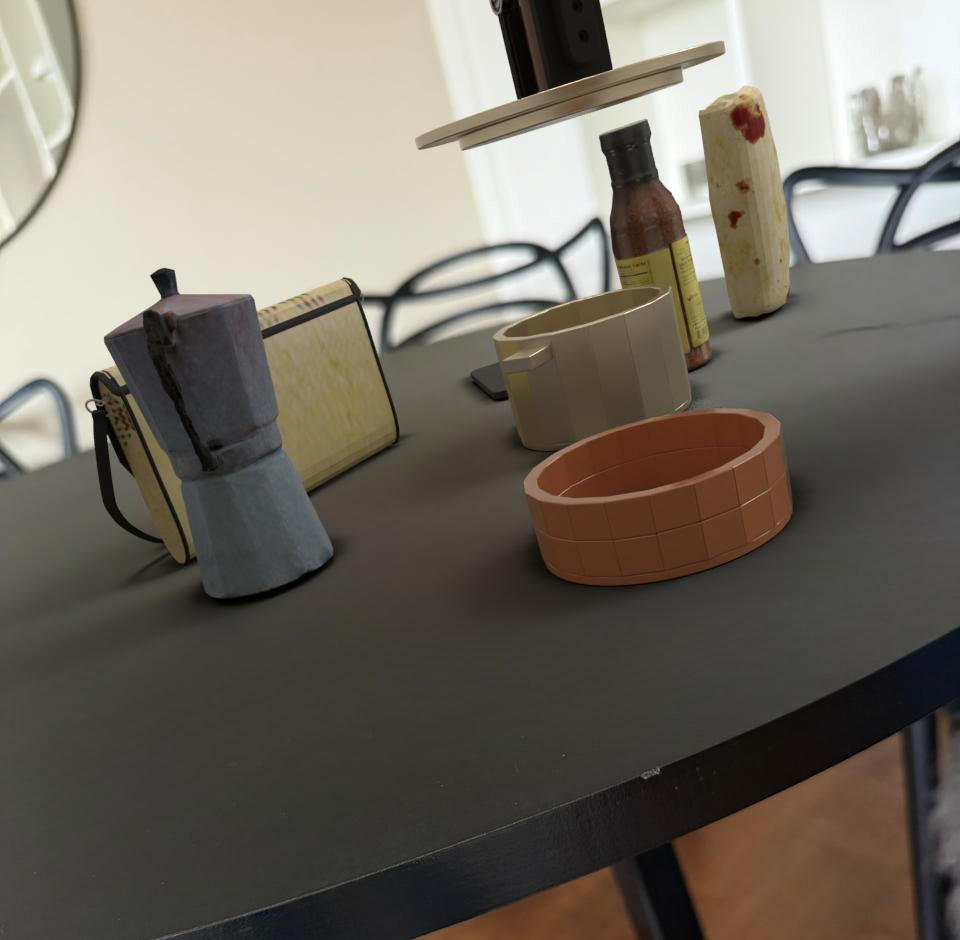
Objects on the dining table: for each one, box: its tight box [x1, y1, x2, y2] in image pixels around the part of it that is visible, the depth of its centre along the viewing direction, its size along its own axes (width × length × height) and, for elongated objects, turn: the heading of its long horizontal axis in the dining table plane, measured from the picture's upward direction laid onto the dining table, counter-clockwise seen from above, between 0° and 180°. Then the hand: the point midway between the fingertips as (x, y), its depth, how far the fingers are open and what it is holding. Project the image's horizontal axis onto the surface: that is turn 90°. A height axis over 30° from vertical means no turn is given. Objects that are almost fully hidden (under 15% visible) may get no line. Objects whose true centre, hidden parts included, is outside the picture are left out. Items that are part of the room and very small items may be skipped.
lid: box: [414, 0, 726, 151], centre depth 47 cm, size 15×15×7 cm
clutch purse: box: [84, 276, 401, 566], centre depth 83 cm, size 30×7×15 cm, turn 144°
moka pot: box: [103, 267, 334, 600], centre depth 64 cm, size 10×15×20 cm, turn 10°
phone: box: [469, 361, 509, 400], centre depth 104 cm, size 7×1×15 cm
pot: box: [492, 284, 693, 452], centre depth 79 cm, size 14×19×8 cm
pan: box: [523, 407, 794, 587], centre depth 55 cm, size 14×14×4 cm
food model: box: [698, 85, 791, 319], centre depth 97 cm, size 10×7×20 cm
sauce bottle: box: [598, 118, 713, 372], centre depth 86 cm, size 6×6×20 cm
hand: (564, 88), depth 48 cm, fingers closed on lid, 2 cm apart
